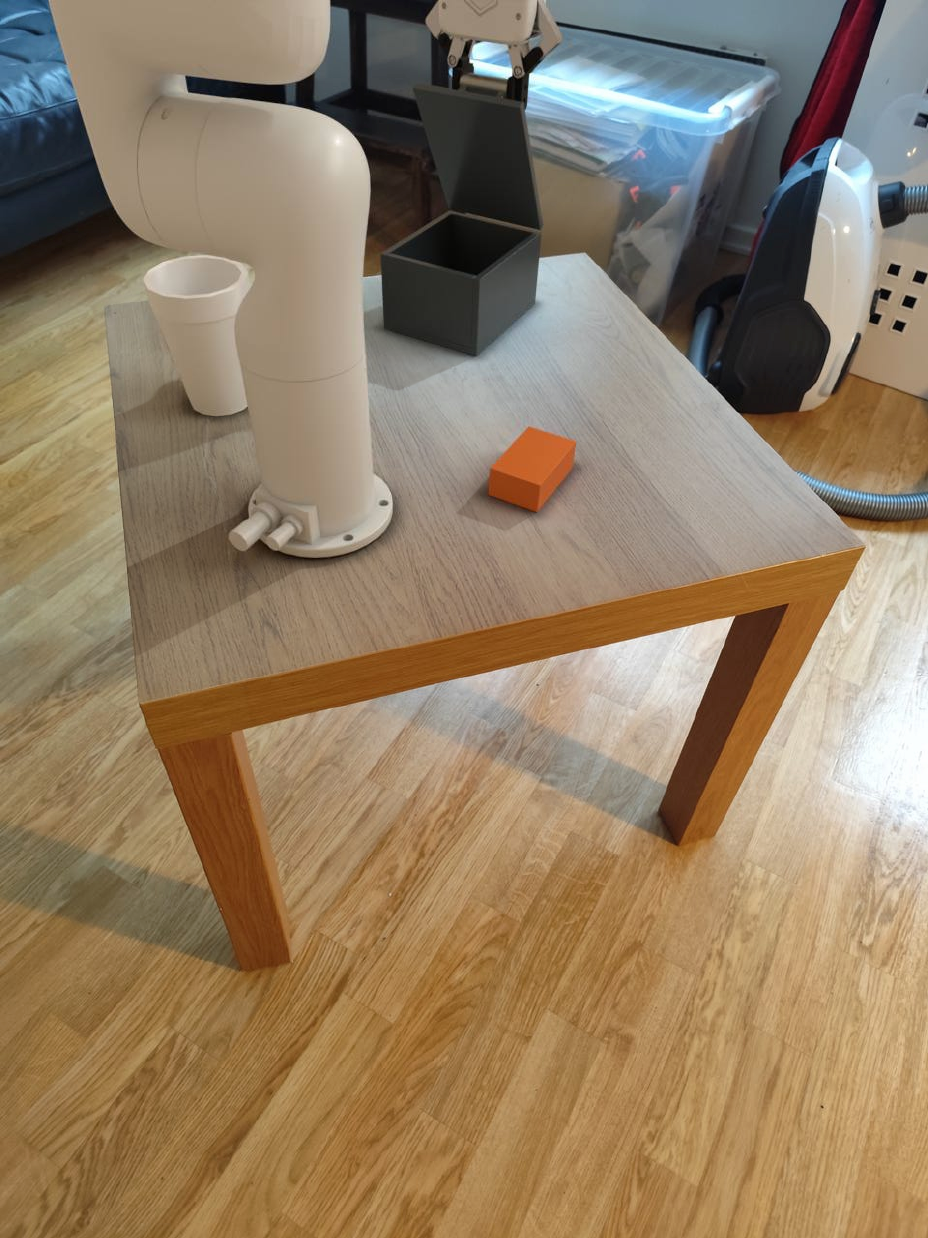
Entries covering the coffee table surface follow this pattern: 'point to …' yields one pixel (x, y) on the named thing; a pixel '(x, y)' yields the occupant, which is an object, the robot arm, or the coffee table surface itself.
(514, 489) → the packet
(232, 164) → the robot arm
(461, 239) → the bin
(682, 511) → the coffee table surface
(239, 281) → the foam cup
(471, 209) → the lid
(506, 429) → the coffee table surface
